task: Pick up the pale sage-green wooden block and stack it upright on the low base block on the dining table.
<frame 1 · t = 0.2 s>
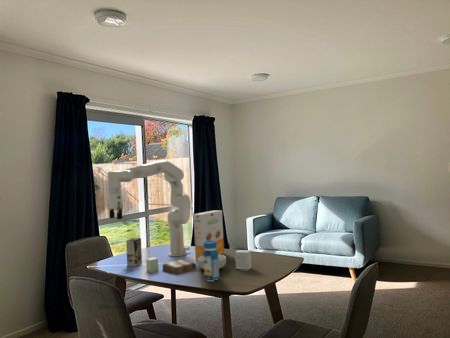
hand: (115, 218, 227), 31 cm above the table, fingers open, 9 cm apart
cereal box: (210, 257, 246), on the table
small box: (243, 269, 212), on the table
cereal bowl: (212, 269, 214), on the table
block: (152, 270, 219), on the table
base: (179, 269, 217), on the table
beverage bottle: (211, 279, 195), on the table
coffee box: (134, 264, 235), on the table
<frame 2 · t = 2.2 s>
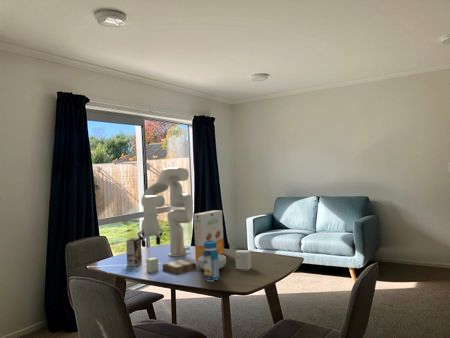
hand: (151, 245, 218), 15 cm above the table, fingers open, 9 cm apart
nothing on the table moved.
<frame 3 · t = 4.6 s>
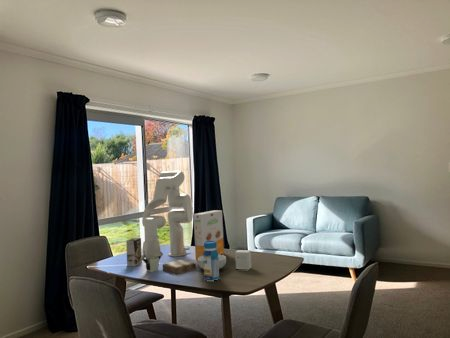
hand: (152, 268, 219), 1 cm above the table, fingers closed on block, 5 cm apart
block: (152, 270, 219), on the table, touching gripper
everything else where it was.
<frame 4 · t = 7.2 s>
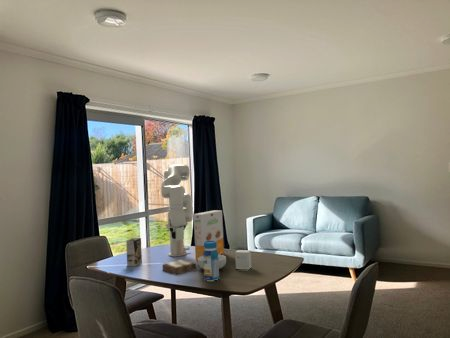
hand: (177, 237, 217), 19 cm above the table, fingers closed on block, 5 cm apart
block: (178, 239, 217), point 18 cm above the table, touching gripper
everything else where it was.
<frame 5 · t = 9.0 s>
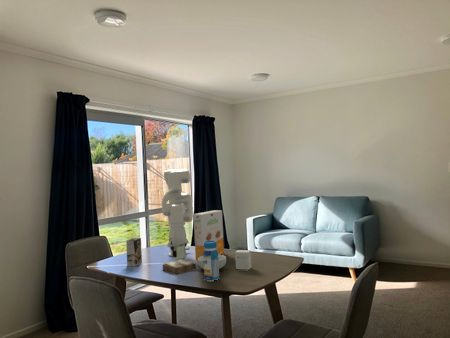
hand: (178, 255, 217), 8 cm above the table, fingers closed on block, 5 cm apart
block: (178, 257, 217), point 7 cm above the table, touching gripper
everything else where it was.
when the fingers open (6 cm above the table, at t = 10.3 s): block stays where it is, resting on base.
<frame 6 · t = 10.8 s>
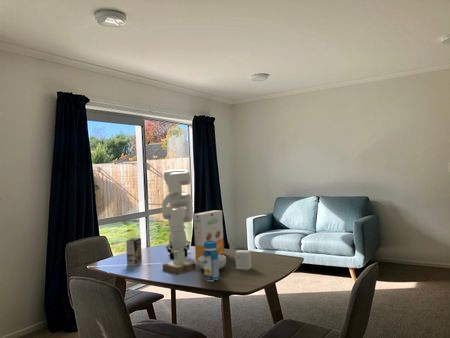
hand: (178, 258, 217), 7 cm above the table, fingers open, 9 cm apart
block: (179, 262, 217), point 4 cm above the table, touching base
everything else where it was.
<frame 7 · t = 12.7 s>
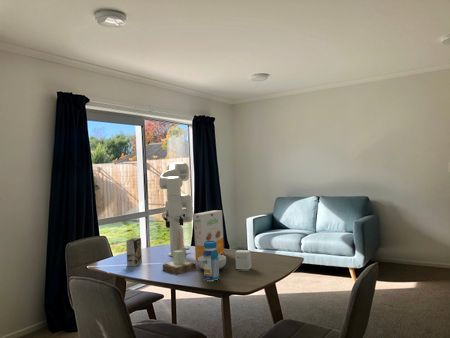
hand: (174, 226, 220), 25 cm above the table, fingers open, 9 cm apart
nothing on the table moved.
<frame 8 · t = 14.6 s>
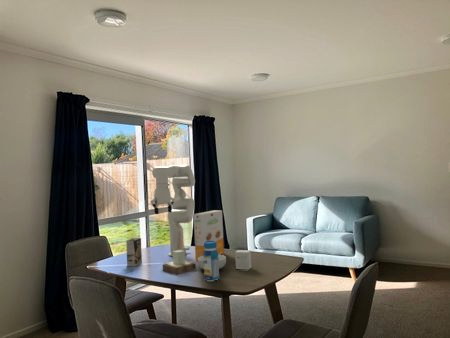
hand: (163, 213, 232), 32 cm above the table, fingers open, 9 cm apart
nothing on the table moved.
at the end: block inside the target area on the base (0.1 cm from its centre), point 4.0 cm above the base's base; block tilted 0°; the gripper is holding nothing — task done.
